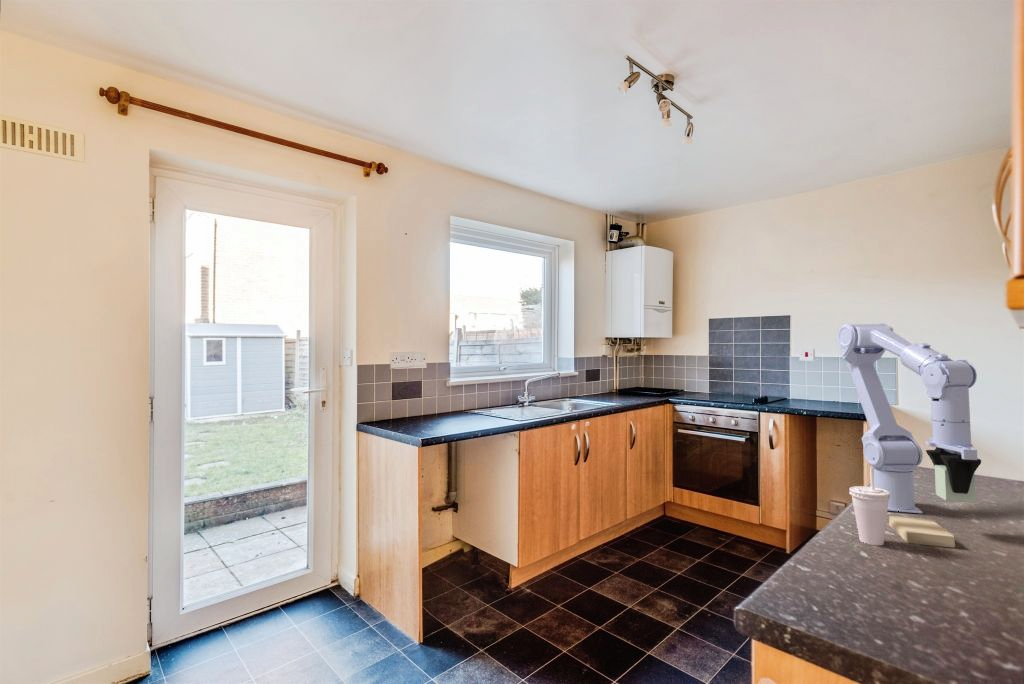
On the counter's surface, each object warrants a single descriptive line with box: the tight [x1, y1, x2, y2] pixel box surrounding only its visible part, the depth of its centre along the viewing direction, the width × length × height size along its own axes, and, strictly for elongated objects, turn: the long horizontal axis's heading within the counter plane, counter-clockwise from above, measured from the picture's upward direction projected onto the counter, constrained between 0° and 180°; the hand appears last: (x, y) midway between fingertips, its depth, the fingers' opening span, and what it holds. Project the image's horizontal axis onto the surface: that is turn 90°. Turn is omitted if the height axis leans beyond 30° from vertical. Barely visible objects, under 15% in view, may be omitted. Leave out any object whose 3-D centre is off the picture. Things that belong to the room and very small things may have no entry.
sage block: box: [934, 465, 976, 504], centre depth 96 cm, size 4×4×6 cm
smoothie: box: [849, 466, 891, 547], centre depth 92 cm, size 6×6×14 cm
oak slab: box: [888, 515, 956, 548], centre depth 94 cm, size 10×7×2 cm
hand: (953, 489), depth 96 cm, fingers closed on sage block, 4 cm apart
